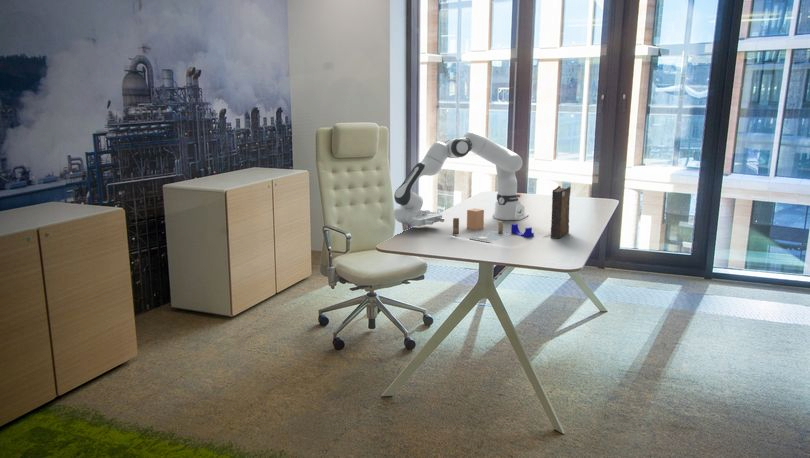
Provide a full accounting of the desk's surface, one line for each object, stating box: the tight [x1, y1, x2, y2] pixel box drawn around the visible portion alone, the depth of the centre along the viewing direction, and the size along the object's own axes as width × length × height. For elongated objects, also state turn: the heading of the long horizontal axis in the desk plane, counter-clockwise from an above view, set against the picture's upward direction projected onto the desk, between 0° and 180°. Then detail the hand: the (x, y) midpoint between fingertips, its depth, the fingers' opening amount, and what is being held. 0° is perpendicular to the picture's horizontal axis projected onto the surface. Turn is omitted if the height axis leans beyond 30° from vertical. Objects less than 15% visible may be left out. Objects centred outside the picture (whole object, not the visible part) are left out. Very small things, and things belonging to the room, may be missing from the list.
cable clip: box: [510, 223, 535, 239], centre depth 330 cm, size 12×4×6 cm, turn 33°
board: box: [469, 220, 513, 244], centre depth 329 cm, size 22×12×7 cm, turn 138°
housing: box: [466, 208, 485, 231], centre depth 346 cm, size 6×6×11 cm
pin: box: [452, 217, 460, 237], centre depth 334 cm, size 3×3×9 cm
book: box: [550, 185, 571, 239], centre depth 331 cm, size 17×7×25 cm, turn 146°
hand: (438, 221), depth 341 cm, fingers open, 8 cm apart
